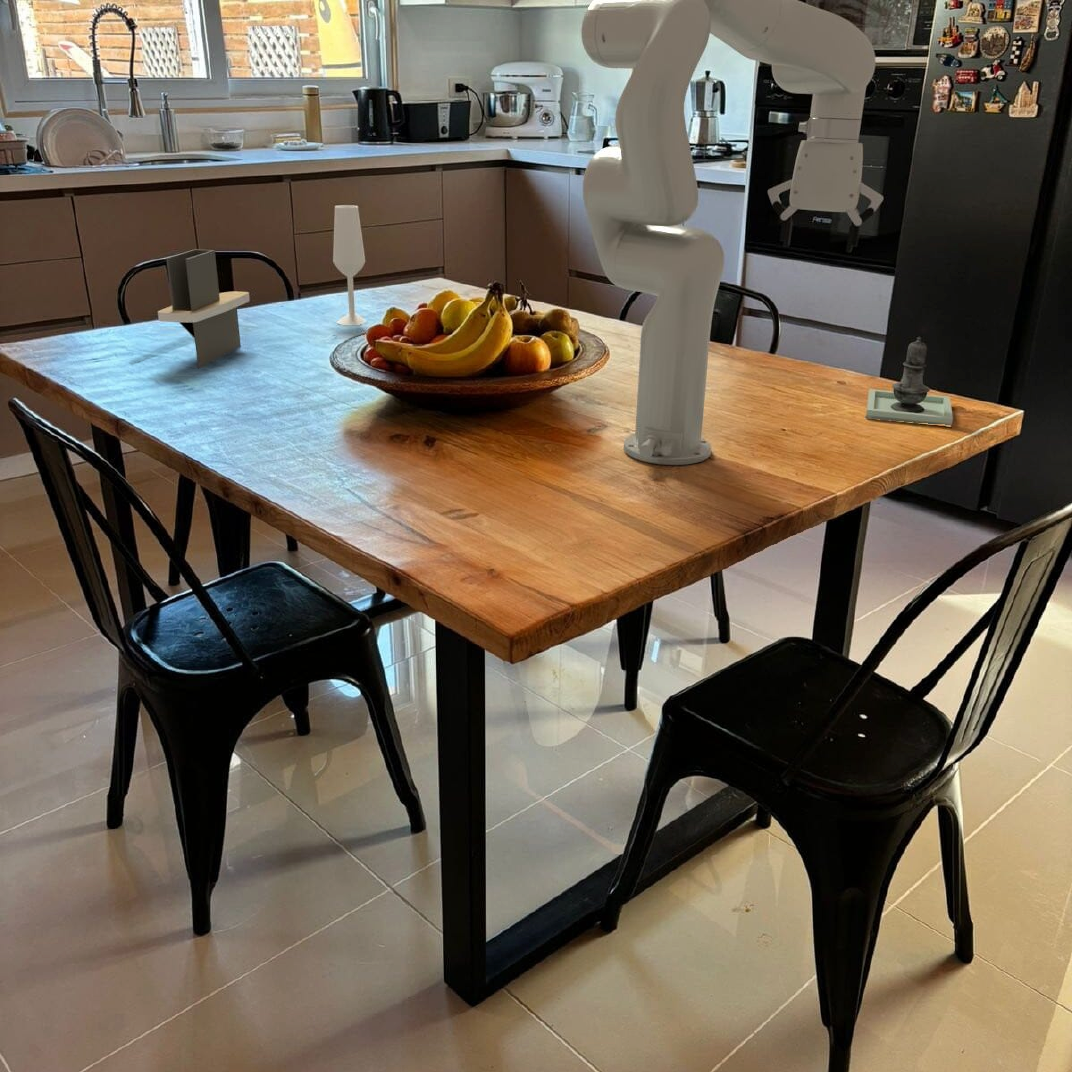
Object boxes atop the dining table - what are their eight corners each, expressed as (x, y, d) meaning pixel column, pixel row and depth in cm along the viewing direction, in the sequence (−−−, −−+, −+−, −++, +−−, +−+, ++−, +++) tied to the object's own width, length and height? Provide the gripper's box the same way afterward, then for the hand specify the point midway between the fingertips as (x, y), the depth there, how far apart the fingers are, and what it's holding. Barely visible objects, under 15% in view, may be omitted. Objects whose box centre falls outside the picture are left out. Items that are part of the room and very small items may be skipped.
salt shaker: (913, 416, 169) (925, 342, 164) (881, 407, 173) (892, 335, 168) (933, 409, 172) (946, 337, 168) (901, 401, 177) (913, 330, 172)
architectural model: (196, 332, 218) (185, 234, 210) (312, 339, 214) (305, 239, 206) (93, 380, 183) (75, 265, 175) (229, 390, 179) (216, 272, 171)
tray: (951, 427, 166) (952, 418, 165) (865, 418, 169) (867, 409, 169) (948, 405, 177) (949, 396, 176) (868, 397, 181) (869, 389, 180)
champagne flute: (342, 326, 223) (336, 209, 213) (332, 320, 228) (325, 205, 219) (372, 323, 226) (367, 207, 216) (361, 317, 231) (356, 204, 222)
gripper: (772, 129, 157) (758, 246, 164) (892, 135, 152) (873, 256, 159) (778, 128, 164) (765, 241, 170) (894, 134, 159) (875, 250, 165)
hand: (817, 248), depth 165 cm, fingers open, 9 cm apart
